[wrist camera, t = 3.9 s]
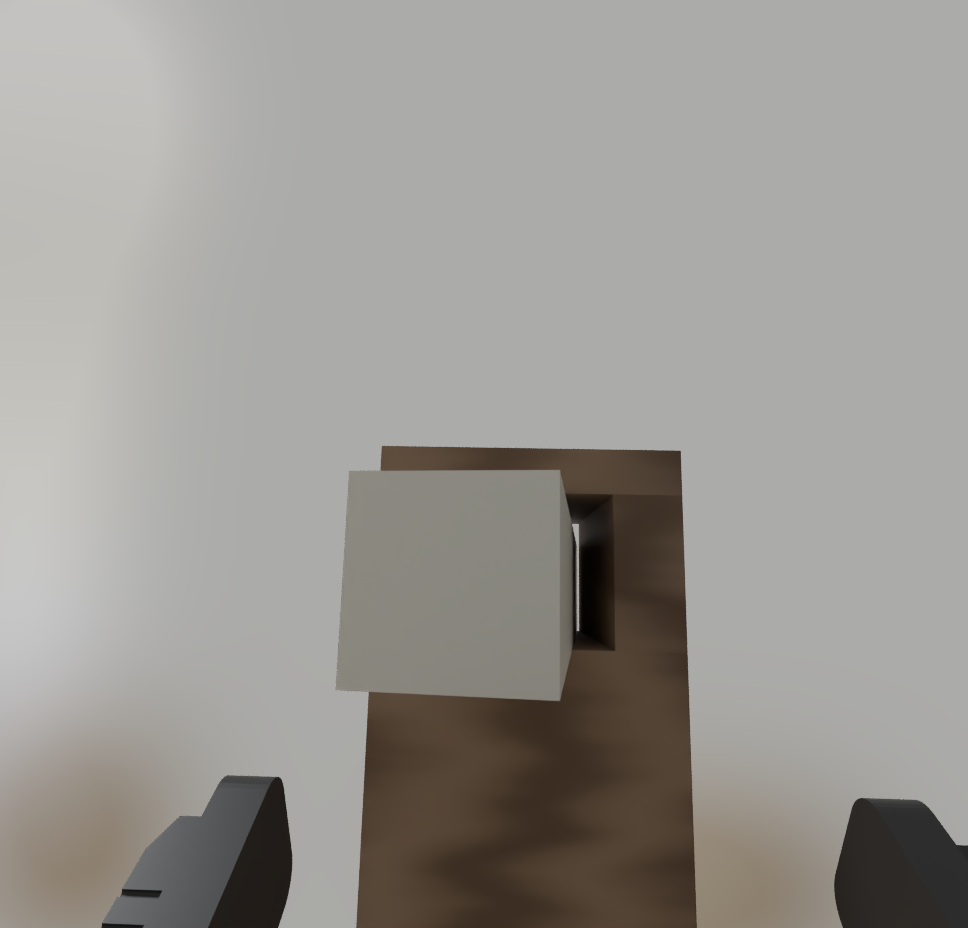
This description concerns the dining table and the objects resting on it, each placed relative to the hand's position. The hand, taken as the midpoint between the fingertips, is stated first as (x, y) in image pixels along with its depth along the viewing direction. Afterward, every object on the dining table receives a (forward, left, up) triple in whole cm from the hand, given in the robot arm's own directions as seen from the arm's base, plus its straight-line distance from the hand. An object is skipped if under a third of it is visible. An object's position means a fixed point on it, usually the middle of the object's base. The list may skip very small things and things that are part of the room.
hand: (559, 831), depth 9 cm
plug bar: (+1, -13, +2) cm, 13 cm away
